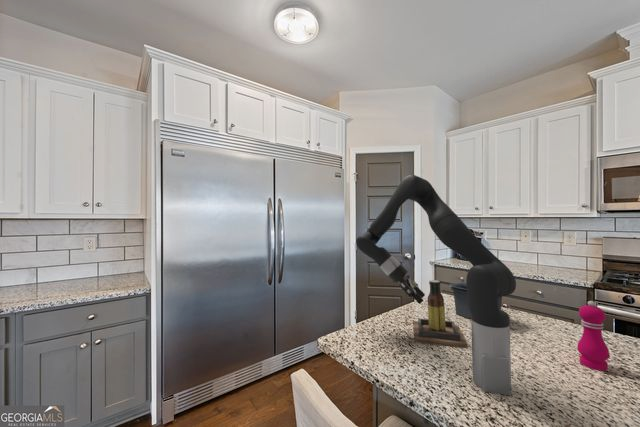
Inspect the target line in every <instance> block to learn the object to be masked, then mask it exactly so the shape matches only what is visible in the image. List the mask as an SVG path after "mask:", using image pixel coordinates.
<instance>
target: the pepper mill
mask: <svg viewBox="0 0 640 427" xmlns="http://www.w3.org/2000/svg"><path fill="white" fill-rule="evenodd" d="M578 316H580V318H581V320H580V324H581V326H582V327H583V332H582V336H581V337H580V339H579V340H578V341H577V345H576V346H577V347H576V348H577V351H578V353H579V354H580V355H579V363H580V364H581V365H582V366H584V367H587V368H589V369H592V370H597V371H608V369H609V366H608V362H607V360H608V359H609V358H610V350H609V348H608V346H607V344H606V342H605V340H604V338H603V335H602V333H603V332H602V330H603V329H604V323H603V322H604V321H605V320H606V317H607V316H606V313H605V312H604V311H603V309H602V308H600V307H598V306H596V302H595V301H594V300H589V301H587V304H585V305H581V307H579V310H578Z"/></svg>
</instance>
